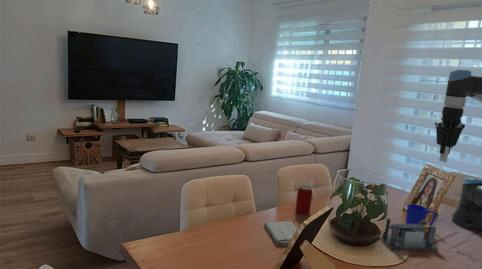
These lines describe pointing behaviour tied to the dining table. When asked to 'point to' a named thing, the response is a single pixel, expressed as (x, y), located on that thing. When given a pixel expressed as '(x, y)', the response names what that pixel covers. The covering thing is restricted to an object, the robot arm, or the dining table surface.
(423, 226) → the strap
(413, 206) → the mug
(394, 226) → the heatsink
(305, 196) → the beverage can
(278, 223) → the washcloth
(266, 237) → the dining table surface
